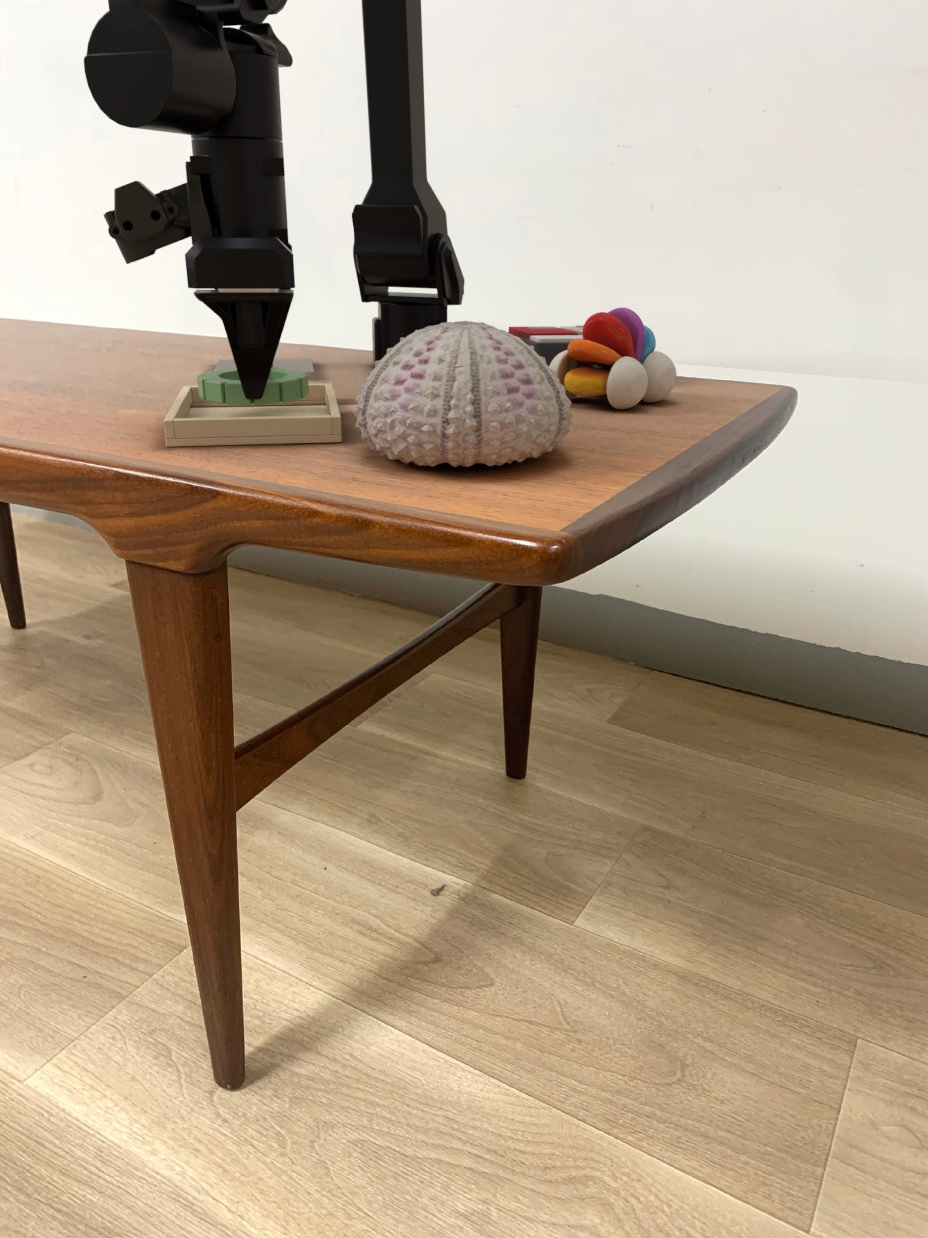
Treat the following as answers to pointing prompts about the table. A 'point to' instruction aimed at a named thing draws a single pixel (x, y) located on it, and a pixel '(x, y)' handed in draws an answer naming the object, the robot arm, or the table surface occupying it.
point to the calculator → (548, 339)
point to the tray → (253, 421)
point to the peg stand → (275, 364)
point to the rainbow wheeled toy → (615, 361)
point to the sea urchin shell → (462, 399)
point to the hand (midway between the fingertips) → (255, 388)
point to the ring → (229, 389)
